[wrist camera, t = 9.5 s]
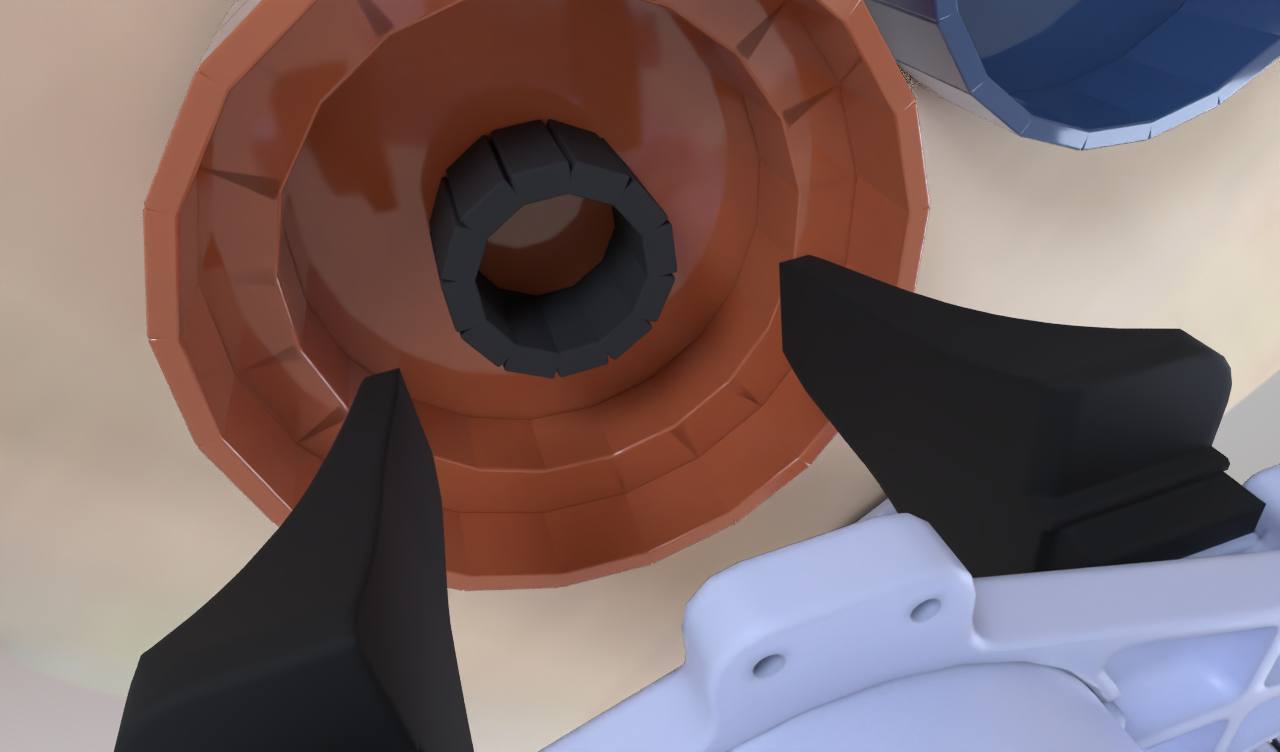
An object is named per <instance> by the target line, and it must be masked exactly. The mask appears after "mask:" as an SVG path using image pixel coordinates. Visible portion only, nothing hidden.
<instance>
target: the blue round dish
mask: <svg viewBox="0 0 1280 752" xmlns="http://www.w3.org/2000/svg"><path fill="white" fill-rule="evenodd" d="M863 1H864V2H865V4H866V6H867V8H868V10H869V12H870V14H871V15H872V17H873V19H874V21H875V23H876V25H877V27H878V29H879V31H880V33H881V35H882V36H883V38H884V40H885V42H886V44H887V46H888V48H889V50H890V52H891V54H892V55H893V57H894V59H895V61H896V63H897V64H898V65H899V66H900V68H902V69H903V70H904V71H905V72H907V73H908V74H909V75H910V76H912V77H913V78H914V79H916V80H917V81H918V82H919V83H921V84H923V85H925V86H926V87H928V88H930V89H931V90H932V91H934V92H935V93H936V94H937V95H939V96H940V97H941V98H943V99H945V100H947V101H949V102H951V103H953V104H955V105H957V106H959V107H961V108H963V109H965V110H967V111H969V112H971V113H973V114H976V115H978V116H980V117H982V118H984V119H986V120H988V121H990V122H992V123H994V124H996V125H998V126H1000V127H1002V128H1004V129H1006V130H1008V131H1010V132H1012V133H1014V134H1016V135H1018V136H1020V137H1024V138H1028V139H1032V140H1036V141H1041V142H1045V143H1049V144H1053V145H1057V146H1061V147H1066V148H1070V149H1074V150H1088V149H1095V148H1101V147H1107V146H1113V145H1119V144H1126V143H1132V142H1138V141H1144V140H1147V139H1151V138H1153V137H1155V136H1157V135H1159V134H1161V133H1163V132H1165V131H1167V130H1170V129H1172V128H1174V127H1176V126H1178V125H1180V124H1182V123H1184V122H1186V121H1188V120H1190V119H1192V118H1194V117H1196V116H1198V115H1200V114H1203V113H1205V112H1207V111H1209V110H1211V109H1213V108H1215V107H1216V106H1217V105H1220V104H1221V103H1222V102H1224V101H1225V100H1226V99H1228V98H1229V97H1230V96H1231V95H1233V94H1234V93H1235V92H1236V91H1238V90H1239V89H1240V88H1241V87H1243V86H1244V85H1245V84H1246V83H1248V82H1249V81H1250V80H1252V79H1253V78H1254V77H1255V76H1257V75H1258V74H1259V73H1260V72H1262V71H1263V70H1264V69H1265V68H1267V67H1268V66H1269V65H1270V64H1272V63H1273V62H1274V61H1275V60H1277V59H1278V58H1279V57H1280V0H863Z"/></svg>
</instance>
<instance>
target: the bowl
mask: <svg viewBox="0 0 1280 752" xmlns="http://www.w3.org/2000/svg"><path fill="white" fill-rule="evenodd" d="M548 119H552V120H555V121H559V122H562V123H565V124H568V125H572V126H575V127H578V128H581V129H585V130H588V131H591V132H594V133H596V134H597V135H598V136H599V138H604V139H605V140H606V141H607V143H608V144H609V145H610V146H611V147H612V148H613V150H614V151H615V152H616V153H617V154H618V155H619V156H620V158H621V159H622V160H623V161H624V162H625V163H626V165H627V166H628V167H629V168H630V169H631V170H632V172H633V173H634V174H635V175H636V177H637V178H638V179H639V180H640V182H641V183H642V184H643V185H644V187H645V188H646V189H647V190H648V192H649V193H650V194H651V195H652V197H653V198H654V199H655V201H656V202H657V203H658V204H659V206H660V207H661V208H662V209H663V211H664V212H665V213H666V214H667V216H668V221H669V222H670V223H671V225H672V231H673V239H674V247H675V255H676V262H677V272H675V273H672V274H673V275H674V276H675V281H674V284H673V286H672V288H671V291H670V293H669V295H668V298H667V300H666V302H665V305H664V307H663V309H662V312H661V314H660V316H659V319H658V321H657V322H652V321H649V322H650V324H651V325H652V329H651V330H650V331H649V332H648V333H647V334H645V335H644V336H643V337H642V338H641V339H640V340H638V341H637V342H636V343H635V344H634V345H633V346H631V347H630V348H629V349H628V350H627V351H626V352H624V353H623V354H622V355H621V356H620V357H619V358H617V359H616V360H614V359H612V358H611V357H610V356H609V355H608V354H607V355H608V360H609V361H608V364H607V365H603V366H600V367H596V368H593V369H589V370H586V371H583V372H579V373H576V374H572V375H569V376H565V377H560V376H559V374H558V372H557V371H556V374H555V377H554V378H553V379H552V378H546V377H539V376H533V375H527V374H521V373H515V372H509V371H505V370H504V367H503V364H502V365H501V366H500V367H497V366H495V365H494V364H493V363H492V362H490V361H489V360H488V359H487V358H485V357H484V356H483V355H481V354H480V353H479V352H478V351H476V350H475V349H474V348H473V347H471V346H470V345H469V344H468V343H466V342H465V341H464V340H463V339H461V337H460V332H457V331H456V330H455V328H454V325H453V322H452V319H451V316H450V313H449V310H448V307H447V304H446V301H445V298H444V295H443V292H442V289H441V285H440V280H439V275H438V271H437V266H436V261H435V256H434V251H433V247H432V242H431V237H430V230H431V229H430V224H429V222H430V218H431V214H432V210H433V207H434V203H435V199H436V196H437V192H438V188H439V184H440V181H441V178H442V177H447V173H446V169H447V168H448V167H449V166H450V165H452V164H453V163H454V162H455V161H456V160H457V159H458V158H459V157H460V156H461V155H462V154H463V153H464V152H465V151H466V150H467V149H468V148H469V147H470V146H472V145H473V144H474V143H475V142H476V141H477V140H478V139H479V138H480V137H481V136H482V135H486V136H487V137H488V138H489V139H490V140H491V142H492V139H491V132H492V131H493V130H497V129H501V128H505V127H509V126H514V125H518V124H522V123H526V122H530V121H535V120H542V121H543V123H544V124H545V126H546V124H547V121H548ZM144 206H145V207H144V209H143V228H144V258H145V288H146V319H147V336H148V338H149V343H150V345H151V348H152V350H153V352H154V354H155V356H156V359H157V361H158V363H159V365H160V367H161V370H162V372H163V374H164V376H165V378H166V381H167V383H168V385H169V387H170V389H171V392H172V394H173V396H174V398H175V400H176V403H177V405H178V407H179V409H180V411H181V414H182V416H183V418H184V420H185V422H186V425H187V427H188V429H189V431H190V433H191V436H192V438H193V440H194V442H195V444H196V445H198V448H199V450H200V451H201V452H202V453H203V454H204V455H205V456H206V457H207V458H208V459H210V460H211V461H212V462H213V463H214V464H215V465H216V466H217V467H218V468H219V469H220V470H221V471H222V472H223V473H224V474H225V475H226V476H227V477H228V478H229V479H230V480H231V481H232V482H233V483H234V484H235V485H236V486H237V487H238V488H239V489H240V490H241V491H242V492H243V493H244V494H245V495H246V496H247V497H248V498H249V499H250V500H251V501H252V502H253V503H254V504H255V505H256V506H257V507H258V508H259V509H260V510H261V511H262V512H263V513H264V514H265V515H266V516H267V517H268V518H269V519H270V520H271V521H272V522H273V523H275V524H276V525H277V526H279V527H280V526H281V525H282V523H283V522H284V521H285V519H286V518H287V517H288V515H289V514H290V513H291V512H292V510H293V509H294V508H295V506H296V505H297V503H298V502H299V500H300V499H301V497H302V496H303V494H304V493H305V491H306V490H307V488H308V487H309V485H310V483H311V482H312V480H313V478H314V477H315V475H316V473H317V471H318V470H319V468H320V466H321V465H322V463H323V461H324V460H325V458H326V456H327V454H328V452H329V450H330V448H331V446H332V444H333V442H334V440H335V439H336V437H337V435H338V433H339V431H340V429H341V427H342V425H343V422H344V420H345V418H346V416H347V414H348V412H349V409H350V407H351V405H352V403H353V400H354V398H355V396H356V393H357V391H358V389H359V386H360V384H361V383H362V381H363V379H364V378H365V377H368V376H371V375H375V374H379V373H382V372H386V371H389V370H393V369H397V368H400V371H401V374H402V376H403V379H404V381H405V384H406V386H407V389H408V392H409V394H410V397H411V399H412V402H413V404H414V407H415V410H416V412H417V415H418V417H419V420H420V422H421V425H422V428H423V430H424V433H425V435H426V438H427V440H428V443H429V446H430V448H431V451H432V453H433V457H434V462H435V467H436V472H437V477H438V482H439V487H440V493H441V498H442V508H443V524H444V540H445V557H446V575H447V588H451V589H456V590H461V591H462V590H464V591H482V590H512V589H543V588H559V587H566V586H570V585H574V584H578V583H581V582H585V581H589V580H593V579H597V578H601V577H605V576H609V575H613V574H617V573H621V572H625V571H629V570H632V569H636V568H640V567H644V566H648V565H651V563H652V564H654V563H656V562H658V561H660V560H662V559H664V558H666V557H668V556H670V555H672V554H674V553H677V552H679V551H681V550H683V549H685V548H687V547H689V546H691V545H693V544H695V543H697V542H699V541H701V540H703V539H705V538H707V537H709V536H711V535H713V534H715V533H717V532H719V531H721V530H723V529H725V528H727V527H729V526H731V525H734V524H735V522H738V521H740V520H741V519H742V518H744V517H745V516H746V515H747V514H749V513H750V512H751V511H752V510H754V509H755V508H756V507H758V506H759V505H760V504H761V503H763V502H764V501H765V500H767V499H768V498H769V497H770V496H772V495H773V494H774V493H775V492H777V491H778V490H779V489H781V488H782V487H783V486H784V485H786V484H787V483H788V482H789V481H791V480H792V479H793V478H795V477H796V476H797V475H798V474H800V473H801V472H802V471H804V470H805V469H806V468H807V467H808V466H809V464H812V462H813V461H814V460H815V459H816V458H817V456H818V455H819V454H820V453H821V452H822V450H823V449H824V448H825V447H826V445H827V444H828V443H829V442H830V441H831V439H832V438H833V437H834V436H835V435H836V433H837V432H838V431H837V430H836V429H835V427H834V426H833V425H832V424H831V422H830V421H829V420H828V419H827V418H826V416H825V415H824V414H823V412H822V411H821V410H820V409H819V407H818V406H817V405H816V404H815V402H814V401H813V400H812V399H811V397H810V396H809V395H808V393H807V392H806V391H805V389H804V388H803V386H802V384H801V383H800V381H799V379H798V378H797V376H796V374H795V373H794V371H793V369H792V367H791V366H790V364H789V362H788V360H787V358H786V357H785V355H784V353H783V351H782V328H781V303H780V279H779V263H780V262H784V261H787V260H791V259H795V258H798V257H802V256H805V255H812V256H815V257H819V258H822V259H825V260H827V261H830V262H833V263H835V264H838V265H841V266H843V267H846V268H849V269H851V270H854V271H856V272H859V273H861V274H864V275H867V276H869V277H872V278H874V279H877V280H880V281H882V282H885V283H888V284H890V285H893V286H896V287H899V288H902V289H905V290H907V291H910V292H913V293H915V288H916V283H917V277H918V272H919V266H920V261H921V255H922V250H923V244H924V239H925V233H926V227H927V222H928V216H929V211H930V207H929V206H930V200H929V192H928V185H927V177H926V170H925V162H924V155H923V147H922V140H921V132H920V124H919V117H918V109H917V103H916V102H915V97H914V95H913V93H912V92H911V90H910V88H909V86H908V84H907V82H906V80H905V78H904V76H903V74H902V73H901V71H900V69H899V67H898V65H897V63H896V61H895V59H894V57H893V55H892V54H891V52H890V50H889V48H888V46H887V44H886V42H885V40H884V38H883V36H882V35H881V33H880V31H879V29H878V27H877V25H876V23H875V21H874V19H873V17H872V15H871V14H870V12H869V10H868V8H867V6H866V4H865V2H864V1H863V0H237V1H236V2H235V3H234V4H233V5H232V6H231V8H230V10H229V12H227V14H226V16H225V17H224V19H223V21H222V23H221V25H220V27H219V29H218V31H217V32H216V34H215V36H214V38H213V40H212V41H211V43H210V45H209V47H208V49H207V51H206V53H205V55H204V56H203V58H202V60H201V62H200V64H199V66H198V68H197V69H196V71H195V73H194V76H193V78H192V81H191V84H190V86H189V89H188V91H187V94H186V97H185V99H184V102H183V104H182V107H181V109H180V112H179V115H178V117H177V120H176V122H175V125H174V128H173V130H172V133H171V135H170V138H169V140H168V143H167V146H166V148H165V151H164V153H163V156H162V158H161V161H160V164H159V166H158V169H157V171H156V174H155V177H154V179H153V182H152V184H151V187H150V189H149V192H148V195H147V197H146V200H145V202H144ZM614 228H615V224H614V218H613V213H612V207H611V205H609V204H605V203H601V202H598V201H594V200H590V199H586V198H583V197H579V196H575V195H571V194H566V195H562V196H558V197H554V198H550V199H546V200H542V201H538V202H534V203H530V204H526V205H524V206H523V207H521V208H520V209H519V210H518V211H517V212H516V213H515V214H514V215H513V216H512V217H511V218H509V219H508V220H507V221H506V222H505V223H504V224H503V225H502V226H501V227H500V228H499V229H498V230H496V231H495V232H494V233H493V234H492V235H491V236H490V237H489V238H488V240H487V243H486V247H485V250H484V253H483V256H482V260H481V263H480V266H479V269H478V270H479V271H480V272H481V273H482V274H483V275H484V276H485V277H487V278H488V279H489V280H490V281H491V282H492V283H493V284H495V285H496V286H497V287H498V288H502V289H506V290H511V291H516V292H521V293H526V294H531V295H535V296H538V295H541V294H545V293H549V292H552V291H556V290H560V289H563V288H567V287H571V286H573V285H575V284H576V283H577V282H578V281H579V280H580V279H581V278H582V277H584V276H585V275H586V274H587V273H588V272H589V271H590V270H592V269H593V268H594V267H595V266H596V265H597V264H598V263H599V262H601V261H602V259H603V257H604V254H605V251H606V249H607V246H608V243H609V241H610V238H611V235H612V233H613V230H614Z"/></svg>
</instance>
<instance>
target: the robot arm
mask: <svg viewBox="0 0 1280 752" xmlns="http://www.w3.org/2000/svg"><path fill="white" fill-rule="evenodd" d="M779 279H780V303H781V328H782V351H783V353H784V355H785V357H786V358H787V360H788V362H789V364H790V366H791V367H792V369H793V371H794V373H795V374H796V376H797V378H798V379H799V381H800V383H801V384H802V386H803V388H804V389H805V391H806V392H807V393H808V395H809V396H810V397H811V399H812V400H813V401H814V402H815V404H816V405H817V406H818V407H819V409H820V410H821V411H822V412H823V414H824V415H825V416H826V418H827V419H828V420H829V421H830V422H831V424H832V425H833V426H834V427H835V429H836V430H837V431H838V432H839V433H840V435H841V436H842V437H843V438H844V440H845V441H846V442H847V443H848V445H849V446H850V447H851V448H852V449H853V451H854V452H855V453H856V454H857V456H858V457H859V458H860V459H861V461H862V462H863V463H864V464H865V465H866V467H867V468H868V469H869V471H870V472H871V473H872V475H873V476H874V478H875V479H876V480H877V482H878V483H879V484H880V486H881V488H882V489H883V491H884V492H885V494H886V495H887V497H888V498H887V499H886V500H885V501H883V502H882V503H881V504H880V505H878V506H877V507H876V508H874V509H873V510H872V511H870V512H869V513H868V514H866V515H865V516H864V517H862V518H861V519H860V520H858V521H857V522H856V523H854V524H851V525H848V526H845V527H842V528H839V529H836V530H833V531H830V532H827V533H824V534H821V535H818V536H815V537H812V538H809V539H806V540H803V541H800V542H797V543H794V544H791V545H788V546H785V547H782V548H779V549H776V550H773V551H770V552H767V553H764V554H761V555H758V556H755V557H752V558H749V559H746V560H743V561H740V562H737V563H735V564H733V565H731V566H730V567H728V568H726V569H724V570H722V571H720V572H718V573H716V574H715V575H713V576H711V577H709V578H708V579H707V580H706V582H705V583H704V584H703V585H702V586H701V587H700V588H699V589H698V591H697V592H696V593H695V594H694V595H693V596H692V597H691V599H690V600H689V601H688V603H687V604H686V609H685V614H684V619H683V623H682V633H683V639H684V644H685V650H686V653H685V663H684V664H683V665H682V666H680V667H678V668H677V669H675V670H673V671H672V672H670V673H668V674H667V675H665V676H663V677H662V678H660V679H658V680H657V681H655V682H653V683H652V684H650V685H648V686H647V687H645V688H643V689H642V690H640V691H638V692H637V693H635V694H633V695H631V696H630V697H628V698H626V699H625V700H623V701H621V702H620V703H618V704H616V705H615V706H613V707H611V708H610V709H608V710H606V711H605V712H603V713H601V714H600V715H598V716H596V717H595V718H593V719H591V720H590V721H588V722H586V723H585V724H583V725H581V726H580V727H578V728H576V729H575V730H573V731H571V732H570V733H568V734H566V735H565V736H563V737H561V738H560V739H558V740H556V741H555V742H553V743H551V744H550V745H548V746H546V747H545V748H543V749H541V750H540V751H538V752H1280V464H1278V465H1275V466H1272V467H1269V468H1266V469H1264V470H1261V471H1260V472H1257V473H1256V474H1254V475H1252V476H1251V477H1250V478H1249V479H1248V480H1247V481H1245V482H1244V484H1243V485H1240V484H1239V483H1238V482H1237V481H1235V480H1234V479H1233V478H1231V477H1230V476H1229V475H1227V474H1226V473H1225V472H1223V471H1225V470H1228V467H1229V465H1230V462H1229V460H1228V458H1227V457H1226V456H1224V455H1223V454H1221V453H1220V452H1219V451H1217V450H1216V449H1214V448H1213V447H1212V443H1213V440H1214V438H1215V435H1216V432H1217V430H1218V427H1219V424H1220V422H1221V419H1222V416H1223V414H1224V411H1225V408H1226V406H1227V403H1228V399H1229V395H1230V391H1231V387H1232V379H1231V368H1230V366H1229V364H1228V363H1227V361H1226V359H1225V358H1224V356H1222V355H1220V354H1219V353H1217V352H1216V351H1214V350H1213V349H1211V348H1209V347H1208V346H1206V345H1205V344H1203V343H1202V342H1200V341H1198V340H1197V339H1195V338H1194V337H1192V336H1191V335H1189V334H1187V333H1186V332H1184V331H1183V330H1181V329H1118V328H1099V327H1084V326H1071V325H1062V324H1052V323H1044V322H1037V321H1031V320H1024V319H1017V318H1011V317H1005V316H1000V315H995V314H990V313H986V312H982V311H977V310H973V309H968V308H964V307H960V306H956V305H953V304H949V303H945V302H942V301H939V300H936V299H932V298H929V297H926V296H923V295H919V294H916V293H913V292H910V291H907V290H905V289H902V288H899V287H896V286H893V285H890V284H888V283H885V282H882V281H880V280H877V279H874V278H872V277H869V276H867V275H864V274H861V273H859V272H856V271H854V270H851V269H849V268H846V267H843V266H841V265H838V264H835V263H833V262H830V261H827V260H825V259H822V258H819V257H815V256H812V255H805V256H802V257H798V258H795V259H791V260H787V261H784V262H780V263H779ZM1270 740H1272V741H1273V742H1271V743H1269V741H1270ZM114 752H474V749H473V744H472V739H471V734H470V729H469V724H468V719H467V714H466V708H465V703H464V697H463V692H462V687H461V681H460V676H459V671H458V665H457V659H456V653H455V648H454V642H453V636H452V630H451V624H450V615H449V606H448V592H447V575H446V557H445V540H444V524H443V508H442V498H441V493H440V487H439V482H438V477H437V472H436V467H435V462H434V457H433V453H432V451H431V448H430V446H429V443H428V440H427V438H426V435H425V433H424V430H423V428H422V425H421V422H420V420H419V417H418V415H417V412H416V410H415V407H414V404H413V402H412V399H411V397H410V394H409V392H408V389H407V386H406V384H405V381H404V379H403V376H402V374H401V371H400V368H397V369H393V370H389V371H386V372H382V373H379V374H375V375H371V376H368V377H365V378H364V379H363V381H362V383H361V384H360V386H359V389H358V391H357V393H356V396H355V398H354V400H353V403H352V405H351V407H350V409H349V412H348V414H347V416H346V418H345V420H344V422H343V425H342V427H341V429H340V431H339V433H338V435H337V437H336V439H335V440H334V442H333V444H332V446H331V448H330V450H329V452H328V454H327V456H326V458H325V460H324V461H323V463H322V465H321V466H320V468H319V470H318V471H317V473H316V475H315V477H314V478H313V480H312V482H311V483H310V485H309V487H308V488H307V490H306V491H305V493H304V494H303V496H302V497H301V499H300V500H299V502H298V503H297V505H296V506H295V508H294V509H293V510H292V512H291V513H290V514H289V515H288V517H287V518H286V519H285V521H284V522H283V523H282V525H281V526H280V527H279V528H278V530H277V531H276V532H275V533H274V534H273V535H272V537H271V538H270V539H269V540H268V541H267V542H266V543H265V544H264V546H263V547H262V548H261V549H260V550H259V551H258V552H257V553H256V554H255V556H254V557H253V558H252V559H251V560H250V561H249V562H248V563H247V565H246V566H245V567H244V568H243V569H242V570H241V571H240V572H239V573H238V574H237V575H236V576H235V577H234V578H233V579H232V580H231V581H230V582H229V583H228V584H227V585H225V586H224V587H223V588H222V589H221V590H220V591H219V592H218V593H217V594H216V595H215V596H214V597H212V598H211V599H210V600H209V601H208V602H207V603H206V604H205V605H204V606H203V607H201V608H200V609H199V610H198V611H197V612H196V613H194V614H193V615H192V616H191V617H190V618H188V619H187V620H186V621H185V622H183V623H182V624H181V625H179V626H178V627H177V628H176V629H174V630H173V631H172V632H171V633H169V634H168V635H167V636H166V637H164V638H163V639H162V640H161V641H159V642H158V643H157V644H155V645H154V646H153V647H152V648H150V649H149V650H148V651H146V652H145V653H143V654H142V655H141V657H140V660H139V663H138V666H137V669H136V671H135V674H134V677H133V680H132V682H131V685H130V689H129V693H128V696H127V700H126V704H125V708H124V712H123V716H122V720H121V725H120V729H119V733H118V737H117V741H116V745H115V749H114Z"/></svg>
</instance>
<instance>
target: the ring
mask: <svg viewBox="0 0 1280 752" xmlns="http://www.w3.org/2000/svg"><path fill="white" fill-rule="evenodd" d="M491 139H492V142H491V140H490V139H489V138H488V137H487V136H486V135H482V136H481V137H480V138H479V139H478V140H477V141H476V142H475V143H474V144H473V145H472V146H470V147H469V148H468V149H467V150H466V151H465V152H464V153H463V154H462V155H461V156H460V157H459V158H458V159H457V160H456V161H455V162H454V163H453V164H452V165H450V166H449V167H448V168H447V169H446V173H447V177H442V178H441V181H440V184H439V188H438V192H437V196H436V199H435V203H434V207H433V210H432V214H431V218H430V222H429V224H430V229H431V230H430V237H431V242H432V247H433V251H434V256H435V261H436V266H437V271H438V275H439V280H440V285H441V289H442V292H443V295H444V298H445V301H446V304H447V307H448V310H449V313H450V316H451V319H452V322H453V325H454V328H455V330H456V331H457V332H460V337H461V339H463V340H464V341H465V342H466V343H468V344H469V345H470V346H471V347H473V348H474V349H475V350H476V351H478V352H479V353H480V354H481V355H483V356H484V357H485V358H487V359H488V360H489V361H490V362H492V363H493V364H494V365H495V366H497V367H500V366H501V365H502V364H503V367H504V370H505V371H509V372H515V373H521V374H527V375H533V376H539V377H546V378H552V379H553V378H554V377H555V374H556V371H557V372H558V374H559V376H560V377H565V376H569V375H572V374H576V373H579V372H583V371H586V370H589V369H593V368H596V367H600V366H603V365H607V364H608V361H609V360H608V355H609V356H610V357H611V358H612V359H614V360H616V359H617V358H619V357H620V356H621V355H622V354H623V353H624V352H626V351H627V350H628V349H629V348H630V347H631V346H633V345H634V344H635V343H636V342H637V341H638V340H640V339H641V338H642V337H643V336H644V335H645V334H647V333H648V332H649V331H650V330H651V329H652V325H651V324H650V322H649V321H652V322H657V321H658V319H659V316H660V314H661V312H662V309H663V307H664V305H665V302H666V300H667V298H668V295H669V293H670V291H671V288H672V286H673V284H674V281H675V276H674V275H673V274H672V273H675V272H677V262H676V255H675V247H674V239H673V231H672V225H671V223H670V222H669V221H668V216H667V214H666V213H665V212H664V211H663V209H662V208H661V207H660V206H659V204H658V203H657V202H656V201H655V199H654V198H653V197H652V195H651V194H650V193H649V192H648V190H647V189H646V188H645V187H644V185H643V184H642V183H641V182H640V180H639V179H638V178H637V177H636V175H635V174H634V173H633V172H632V170H631V169H630V168H629V167H628V166H627V165H626V163H625V162H624V161H623V160H622V159H621V158H620V156H619V155H618V154H617V153H616V152H615V151H614V150H613V148H612V147H611V146H610V145H609V144H608V143H607V141H606V140H605V139H604V138H599V136H598V135H597V134H596V133H594V132H591V131H588V130H585V129H581V128H578V127H575V126H572V125H568V124H565V123H562V122H559V121H555V120H552V119H548V121H547V124H546V126H545V124H544V123H543V121H542V120H535V121H530V122H526V123H522V124H518V125H514V126H509V127H505V128H501V129H497V130H493V131H492V132H491ZM566 194H571V195H575V196H579V197H583V198H586V199H590V200H594V201H598V202H601V203H605V204H609V205H611V207H612V213H613V218H614V224H615V228H614V230H613V233H612V235H611V238H610V241H609V243H608V246H607V249H606V251H605V254H604V257H603V259H602V261H601V262H599V263H598V264H597V265H596V266H595V267H594V268H593V269H592V270H590V271H589V272H588V273H587V274H586V275H585V276H584V277H582V278H581V279H580V280H579V281H578V282H577V283H576V284H575V285H573V286H571V287H567V288H563V289H560V290H556V291H552V292H549V293H545V294H541V295H538V296H535V295H531V294H526V293H521V292H516V291H511V290H506V289H502V288H498V287H497V286H496V285H495V284H493V283H492V282H491V281H490V280H489V279H488V278H487V277H485V276H484V275H483V274H482V273H481V272H480V271H479V270H478V269H479V266H480V263H481V260H482V256H483V253H484V250H485V247H486V243H487V240H488V238H489V237H490V236H491V235H492V234H493V233H494V232H495V231H496V230H498V229H499V228H500V227H501V226H502V225H503V224H504V223H505V222H506V221H507V220H508V219H509V218H511V217H512V216H513V215H514V214H515V213H516V212H517V211H518V210H519V209H520V208H521V207H523V206H524V205H526V204H530V203H534V202H538V201H542V200H546V199H550V198H554V197H558V196H562V195H566ZM607 354H608V355H607Z"/></svg>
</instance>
